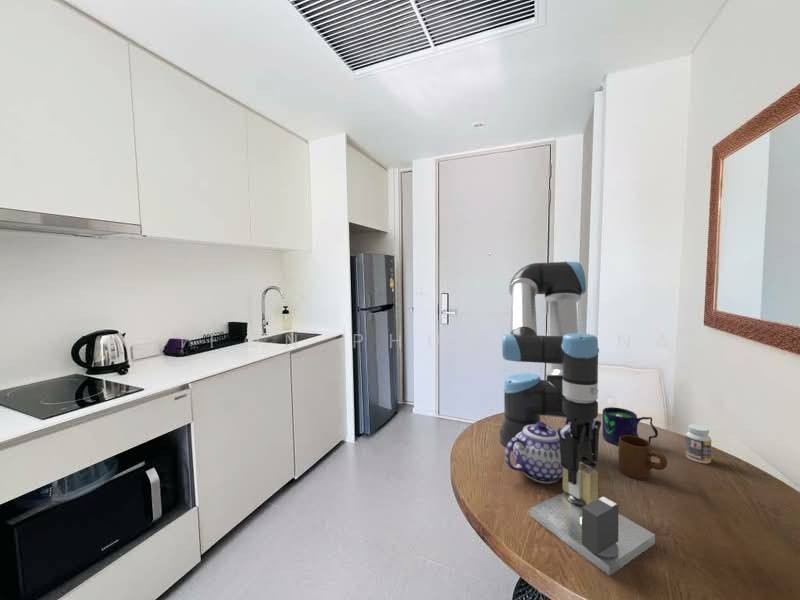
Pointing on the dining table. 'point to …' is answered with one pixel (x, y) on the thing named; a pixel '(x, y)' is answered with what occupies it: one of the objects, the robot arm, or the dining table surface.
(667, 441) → the dining table surface
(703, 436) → the pill bottle
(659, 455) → the mug
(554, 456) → the teapot
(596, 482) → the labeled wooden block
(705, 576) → the dining table surface
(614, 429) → the mug
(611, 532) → the dark grey block
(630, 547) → the plate
